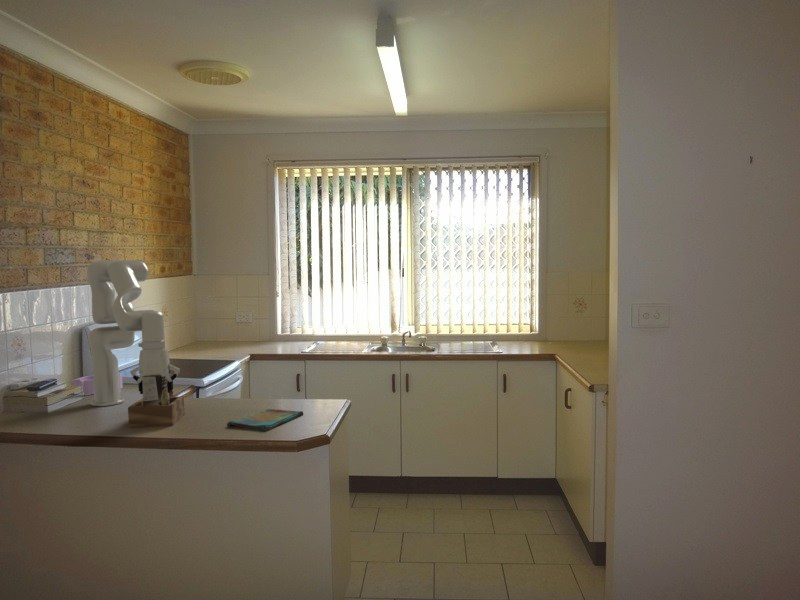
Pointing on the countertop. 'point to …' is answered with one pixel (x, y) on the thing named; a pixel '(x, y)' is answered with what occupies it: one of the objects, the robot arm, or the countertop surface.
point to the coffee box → (155, 390)
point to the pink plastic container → (91, 383)
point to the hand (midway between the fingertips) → (156, 392)
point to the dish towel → (265, 419)
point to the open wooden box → (156, 413)
